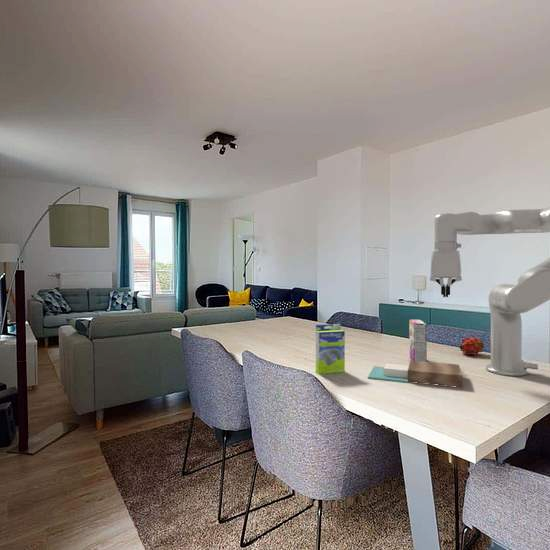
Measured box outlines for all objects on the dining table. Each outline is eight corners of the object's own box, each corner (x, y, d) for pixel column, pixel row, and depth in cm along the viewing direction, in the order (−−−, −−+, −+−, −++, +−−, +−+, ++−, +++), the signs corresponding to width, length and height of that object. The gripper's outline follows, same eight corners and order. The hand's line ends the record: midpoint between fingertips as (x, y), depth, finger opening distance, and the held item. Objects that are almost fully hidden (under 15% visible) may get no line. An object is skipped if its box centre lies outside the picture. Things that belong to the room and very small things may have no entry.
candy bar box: (408, 358, 154) (408, 319, 153) (421, 358, 152) (421, 319, 152) (413, 365, 143) (413, 323, 142) (427, 365, 142) (427, 323, 141)
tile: (409, 372, 131) (409, 365, 131) (407, 378, 124) (407, 370, 124) (386, 370, 134) (386, 363, 134) (383, 375, 128) (383, 368, 127)
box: (319, 374, 131) (318, 326, 131) (314, 371, 135) (314, 324, 134) (345, 372, 134) (345, 325, 133) (340, 369, 138) (340, 323, 137)
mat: (410, 370, 135) (410, 369, 135) (407, 382, 121) (407, 381, 121) (374, 367, 140) (374, 366, 140) (367, 378, 126) (367, 376, 126)
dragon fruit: (485, 357, 160) (463, 363, 157) (471, 343, 166) (449, 349, 163) (493, 344, 155) (470, 350, 151) (478, 330, 161) (456, 336, 158)
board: (458, 376, 128) (458, 364, 128) (461, 388, 115) (462, 375, 115) (410, 371, 134) (410, 360, 134) (407, 382, 121) (407, 370, 121)
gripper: (467, 247, 136) (467, 296, 136) (424, 248, 142) (424, 295, 142) (469, 246, 129) (469, 298, 129) (423, 247, 135) (423, 297, 135)
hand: (445, 296), depth 136 cm, fingers closed
